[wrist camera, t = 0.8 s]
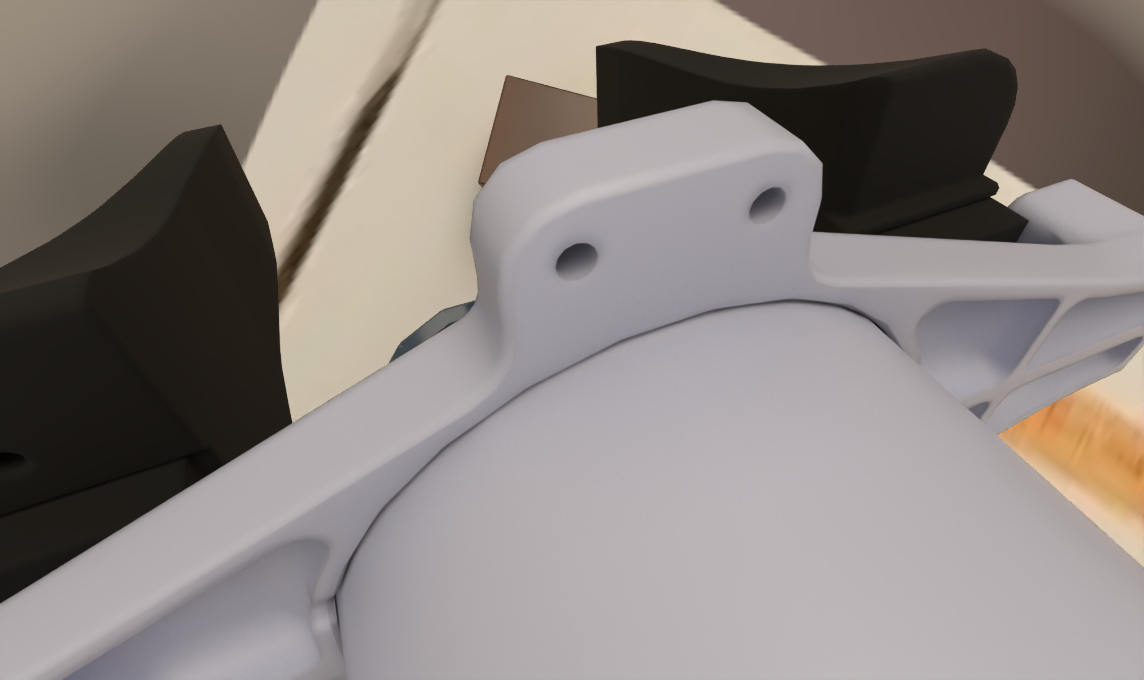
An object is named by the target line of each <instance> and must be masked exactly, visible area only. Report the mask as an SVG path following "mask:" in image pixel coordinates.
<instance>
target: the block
mask: <svg viewBox="0 0 1144 680" xmlns="http://www.w3.org/2000/svg"><path fill="white" fill-rule="evenodd" d="M597 128H598V127H597V99H596V98H593V97H589V96H585V95H581V94H577V93H574V92H570V91H566V90H562V89H558V88H555V87H551V86H547V85H543V84H540V83H536V82H532V81H528V80H524V79H521V78H517V77H513V76H509V75H507V76H506V78H505V82H504V85H503V89H502V93H501V97H500V101H499V104H498V108H497V112H496V116H495V120H494V123H493V127H492V131H491V135H490V139H489V142H488V146H487V150H486V154H485V158H484V162H483V165H482V169H481V173H480V177H479V181H478V182H479V184H480V186H481V187H482V188H483V187H484V185H485V184H486V182H487V181H488V180H489V178H490V177H491V175H492V174H493V173H494V171H495V170H496V169H497V167H498V166H499V164H500V163H502V162H504V161H506V160H508V159H510V158H511V157H513V156H515V155H517V154H519V153H521V152H523V151H525V150H527V149H529V148H531V147H533V146H535V145H536V144H538V143H540V142H543V141H547V140H551V139H555V138H560V137H564V136H568V135H572V134H576V133H580V132H584V131H589V130H593V129H597Z"/></svg>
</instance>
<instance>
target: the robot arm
mask: <svg viewBox="0 0 1144 680" xmlns="http://www.w3.org/2000/svg"><path fill="white" fill-rule="evenodd" d="M596 75H597V127H598V128H597V129H593V130H589V131H584V132H580V133H576V134H572V135H568V136H564V137H560V138H555V139H551V140H547V141H543V142H540V143H538V144H536V145H535V146H533V147H531V148H529V149H527V150H525V151H523V152H521V153H519V154H517V155H515V156H513V157H511V158H510V159H508V160H506V161H504V162H502V163H500V164H499V166H498V167H497V169H496V170H495V171H494V173H493V174H492V175H491V177H490V178H489V180H488V181H487V182H486V184H485V185H484V187H483V188H482V189H481V191H480V192H479V193H478V195H477V196H476V198H475V199H474V203H473V212H472V222H471V232H470V243H471V248H472V252H473V257H474V262H475V267H476V272H477V281H478V294H477V297H476V301H475V304H474V305H473V307H472V308H471V310H470V311H469V312H468V313H467V314H466V315H465V316H464V317H463V318H462V319H460V320H459V321H457V322H455V323H454V324H452V325H450V326H449V327H447V328H446V329H444V330H442V331H441V332H439V333H438V334H436V335H434V336H433V337H431V338H429V339H428V340H426V341H425V342H423V343H421V344H420V345H418V346H416V347H415V348H413V349H412V350H410V351H408V352H407V353H405V354H404V355H402V356H400V357H399V358H397V359H395V360H394V361H392V362H391V363H389V364H387V365H386V366H384V367H382V368H381V369H379V370H378V371H376V372H374V373H373V374H371V375H370V376H368V377H366V378H365V379H363V380H361V381H360V382H358V383H357V384H355V385H353V386H352V387H350V388H348V389H347V390H345V391H344V392H342V393H340V394H339V395H337V396H336V397H334V398H332V399H331V400H329V401H327V402H326V403H324V404H323V405H321V406H319V407H318V408H316V409H314V410H313V411H311V412H310V413H308V414H306V415H305V416H303V417H302V418H300V419H298V420H297V421H295V422H293V423H292V419H291V414H290V409H289V404H288V398H287V393H286V387H285V382H284V376H283V371H282V363H281V353H280V334H279V306H278V281H277V262H276V257H275V252H274V247H273V243H272V238H271V234H270V229H269V225H268V221H267V219H266V217H265V215H264V213H263V211H262V209H261V207H260V205H259V202H258V200H257V198H256V196H255V194H254V192H253V190H252V188H251V186H250V184H249V182H248V179H247V177H246V175H245V173H244V171H243V169H242V167H241V165H240V163H239V161H238V159H237V157H236V154H235V152H234V150H233V148H232V146H231V144H230V142H229V140H228V138H227V136H226V133H225V131H224V130H223V127H222V125H216V126H211V127H206V128H201V129H196V130H192V131H187V132H183V133H182V134H180V135H178V136H177V137H176V138H174V139H173V140H172V141H171V142H170V143H169V144H168V145H167V146H166V147H165V148H163V150H161V151H160V152H159V154H157V155H156V156H155V157H154V158H153V159H152V160H151V161H150V162H149V163H148V164H147V165H146V166H145V167H144V168H143V169H142V170H141V171H140V172H139V173H138V174H137V175H136V176H135V177H134V178H133V179H132V180H130V181H129V182H128V183H127V184H126V185H125V186H123V187H122V188H121V189H120V190H119V191H118V192H117V193H115V194H114V195H113V196H112V197H111V198H110V199H108V200H107V201H106V202H105V203H104V204H103V205H102V206H100V207H99V208H98V209H96V210H95V211H94V212H92V213H91V214H90V215H88V216H87V217H86V218H84V219H83V220H81V221H80V222H79V223H77V224H76V225H74V226H72V227H71V228H70V229H68V230H67V231H65V232H63V233H62V234H61V235H59V236H57V237H56V238H54V239H52V240H51V241H49V242H47V243H45V244H44V245H42V246H40V247H38V248H36V249H34V250H33V251H31V252H29V253H27V254H25V255H23V256H21V257H20V258H18V259H16V260H14V261H12V262H10V263H8V264H6V265H5V266H3V267H1V268H0V680H1144V567H1143V566H1141V565H1140V564H1139V563H1138V562H1137V561H1136V560H1135V559H1134V558H1133V557H1131V556H1130V555H1129V554H1128V553H1127V552H1126V551H1125V550H1124V549H1123V548H1121V547H1120V546H1119V545H1118V544H1117V543H1116V542H1115V541H1114V540H1113V539H1112V538H1110V537H1109V536H1108V535H1107V534H1106V533H1105V532H1104V531H1103V530H1102V529H1100V528H1099V527H1098V526H1097V525H1096V524H1095V523H1094V522H1093V521H1092V520H1090V519H1089V518H1088V517H1087V516H1086V515H1085V514H1084V513H1083V512H1082V511H1080V510H1079V509H1078V508H1077V507H1076V506H1075V505H1074V504H1073V503H1072V502H1070V501H1069V500H1068V499H1067V498H1066V497H1065V496H1064V495H1063V494H1062V493H1061V492H1059V491H1058V490H1057V489H1056V488H1055V487H1054V486H1053V485H1052V484H1051V483H1049V482H1048V481H1047V480H1046V479H1045V478H1044V477H1043V476H1042V475H1041V474H1039V473H1038V472H1037V471H1036V470H1035V469H1034V468H1033V467H1032V466H1031V465H1029V464H1028V463H1027V462H1026V461H1025V460H1024V459H1023V458H1022V457H1021V456H1019V455H1018V454H1017V453H1016V452H1015V451H1014V450H1013V449H1012V448H1011V447H1010V446H1008V445H1007V444H1006V443H1005V442H1004V441H1003V440H1002V439H1001V438H1000V437H998V436H997V435H998V434H1000V433H1001V432H1003V431H1005V430H1007V429H1008V428H1010V427H1012V426H1014V425H1015V424H1017V423H1019V422H1021V421H1022V420H1024V419H1026V418H1028V417H1029V416H1031V415H1033V414H1035V413H1036V412H1038V411H1040V410H1042V409H1043V408H1045V407H1047V406H1049V405H1051V404H1053V403H1055V402H1057V401H1059V400H1061V399H1062V398H1064V397H1066V396H1068V395H1070V394H1072V393H1074V392H1076V391H1078V390H1080V389H1082V388H1084V387H1086V386H1088V385H1090V384H1093V383H1095V382H1097V381H1099V380H1101V379H1103V378H1105V377H1108V376H1110V375H1112V374H1114V373H1116V372H1119V371H1120V370H1122V369H1123V368H1124V367H1125V366H1126V364H1127V363H1128V362H1129V361H1130V360H1131V359H1132V358H1133V357H1134V355H1135V354H1136V353H1137V352H1138V351H1139V350H1140V349H1141V348H1142V346H1143V345H1144V216H1142V215H1140V214H1138V213H1136V212H1135V211H1133V210H1131V209H1129V208H1127V207H1125V206H1123V205H1121V204H1119V203H1117V202H1115V201H1113V200H1112V199H1110V198H1108V197H1106V196H1104V195H1102V194H1100V193H1098V192H1096V191H1094V190H1092V189H1091V188H1088V187H1087V186H1085V185H1083V184H1081V183H1079V182H1077V181H1075V180H1073V179H1069V180H1066V181H1063V182H1060V183H1056V184H1053V185H1050V186H1047V187H1044V188H1041V189H1038V190H1035V191H1032V192H1029V193H1026V194H1024V195H1022V196H1020V197H1018V198H1017V199H1016V200H1015V201H1013V202H1012V203H1011V204H1010V205H1009V206H1008V207H1006V206H1004V205H1003V204H1001V203H999V202H998V201H996V200H994V199H993V198H991V197H990V196H993V195H996V193H997V191H998V189H999V186H998V183H997V182H995V181H993V180H992V179H990V178H988V177H986V176H985V175H983V174H984V172H985V170H986V167H987V165H988V163H989V161H990V159H991V157H992V155H993V153H994V151H995V149H996V147H997V145H998V143H999V140H1000V138H1001V136H1002V134H1003V132H1004V130H1005V128H1006V126H1007V124H1008V121H1009V119H1010V116H1011V113H1012V111H1013V108H1014V105H1015V100H1016V94H1017V86H1018V84H1017V77H1016V69H1015V68H1014V66H1013V65H1012V63H1011V62H1010V60H1009V59H1008V58H1005V57H1003V56H1001V55H999V54H997V53H994V52H992V51H990V50H988V49H977V50H970V51H964V52H958V53H952V54H946V55H939V56H933V57H927V58H920V59H914V60H906V61H896V62H886V63H875V64H862V65H836V66H835V65H826V66H810V65H788V64H774V63H762V62H753V61H746V60H740V59H734V58H727V57H721V56H716V55H710V54H705V53H700V52H695V51H691V50H686V49H681V48H676V47H671V46H666V45H661V44H656V43H650V42H643V41H632V40H630V41H620V42H615V43H610V44H605V45H601V46H596Z"/></svg>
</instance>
